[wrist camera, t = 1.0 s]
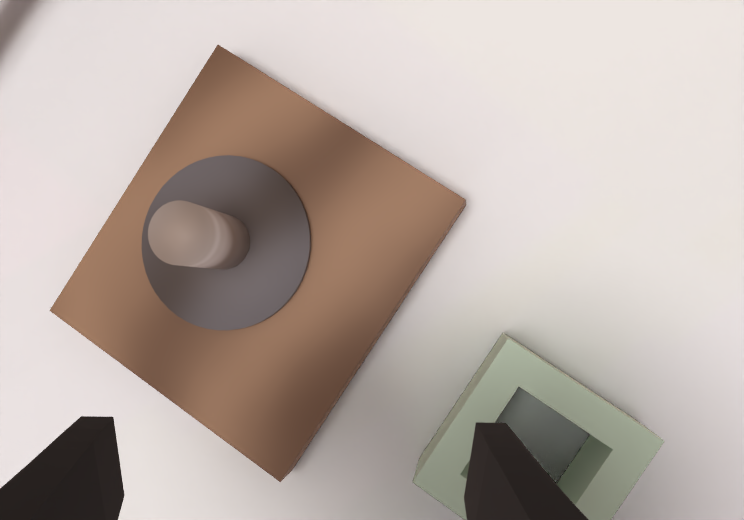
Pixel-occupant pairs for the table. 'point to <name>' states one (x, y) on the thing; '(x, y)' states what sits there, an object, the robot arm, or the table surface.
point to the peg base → (256, 260)
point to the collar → (567, 397)
